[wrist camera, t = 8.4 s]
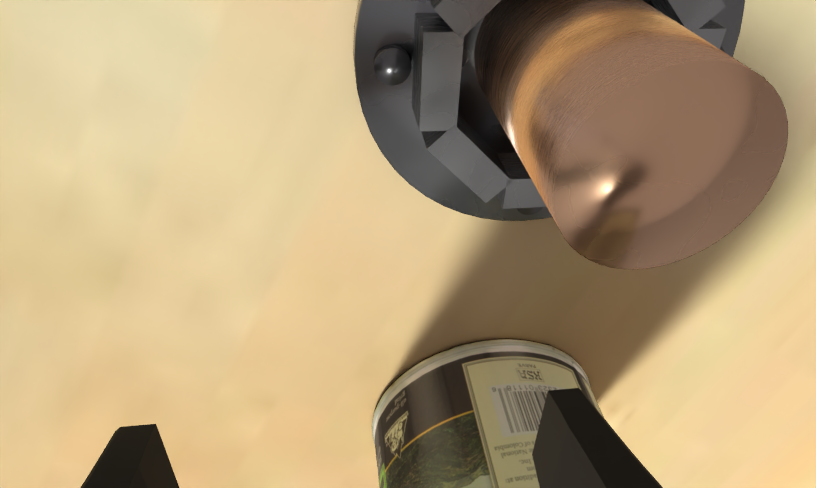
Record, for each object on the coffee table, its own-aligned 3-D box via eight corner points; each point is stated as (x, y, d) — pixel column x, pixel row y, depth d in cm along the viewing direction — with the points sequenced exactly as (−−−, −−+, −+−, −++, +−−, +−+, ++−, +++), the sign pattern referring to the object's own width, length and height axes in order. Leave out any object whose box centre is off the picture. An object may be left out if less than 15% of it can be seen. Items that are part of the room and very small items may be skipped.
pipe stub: (475, 131, 18) (546, 283, 12) (472, -26, 15) (561, 79, 10) (618, 112, 18) (752, 253, 13) (640, -46, 15) (821, 45, 10)
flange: (358, 215, 20) (362, 259, 18) (346, -188, 14) (351, -185, 12) (666, 200, 21) (700, 240, 20) (792, -175, 15) (862, -170, 13)
